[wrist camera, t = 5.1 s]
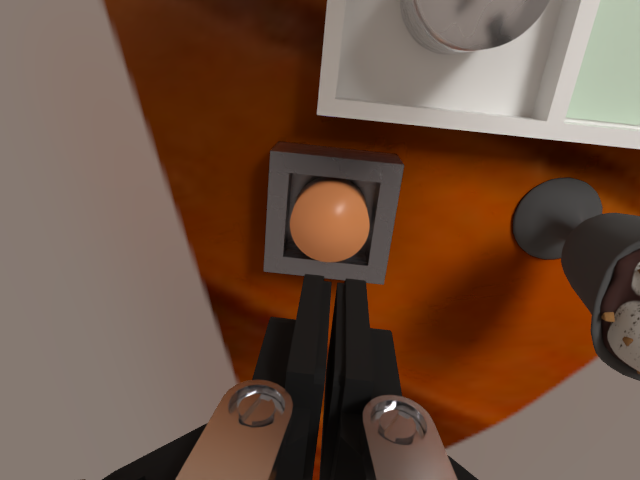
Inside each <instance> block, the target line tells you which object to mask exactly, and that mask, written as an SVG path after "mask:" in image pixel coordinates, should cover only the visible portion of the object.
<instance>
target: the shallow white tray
mask: <svg viewBox="0 0 640 480" xmlns="http://www.w3.org/2000/svg"><path fill="white" fill-rule="evenodd" d="M317 115H323V116H333V117H342V118H352V119H361V120H370V121H380V122H389V123H399V124H408V125H417V126H427V127H436V128H445V129H455V130H464V131H474V132H483V133H492V134H502V135H511V136H521V137H530V138H539V139H549V140H558V141H567V142H577V143H586V144H596V145H605V146H614V147H624V148H633V149H640V0H550V1H549V3H548V5H547V7H546V8H545V10H544V11H543V13H542V14H541V16H540V17H539V18H538V19H537V21H536V22H535V23H534V24H533V25H532V26H531V27H530V28H529V29H528V30H527V31H525V32H524V33H523V34H522V35H520V36H519V37H517V38H516V39H514V40H512V41H510V42H508V43H506V44H504V45H501V46H498V47H494V48H490V49H484V50H478V51H471V52H464V53H458V54H439V53H435V52H432V51H429V50H428V49H426V48H424V47H422V46H421V45H420V44H418V43H417V42H416V41H415V40H414V39H413V37H412V36H411V35H410V34H409V32H408V30H407V28H406V26H405V24H404V22H403V18H402V14H401V8H400V0H327V8H326V19H325V30H324V41H323V52H322V63H321V74H320V84H319V95H318V106H317Z"/></svg>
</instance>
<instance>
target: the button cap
mask: <svg viewBox="0 0 640 480" xmlns="http://www.w3.org/2000/svg"><path fill="white" fill-rule="evenodd" d="M369 227H370V223H369V216H368V211H367V206H366V201H365V198H364V196H363V194H362V193H361V191H360V190H359V189H358V187H357V186H356V185H354V184H353V183H352V182H350V181H349V180H346V179H342V178H333V177H320V178H317V179H315V180H313V181H311V182H310V183H308V184H307V185H306V186H305V187H304V188H303V189H302V190H301V192H300V193H299V195H298V197H297V199H296V202H295V205H294V208H293V211H292V214H291V218H290V231H291V235H292V238H293V240H294V242H295V244H296V245H297V247H298V248H299V249H300V250H301V251H302V252H303V253H304V254H306V255H307V256H309V257H310V258H312V259H315V260H318V261H322V262H338V261H342V260H345V259H348V258H350V257H351V256H353V255H354V254H356V253H357V252H358V251H359V250H360V249H361V248H362V246H363V245H364V243H365V242H366V240H367V237H368V234H369Z"/></svg>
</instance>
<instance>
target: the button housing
mask: <svg viewBox="0 0 640 480" xmlns="http://www.w3.org/2000/svg"><path fill="white" fill-rule="evenodd" d="M403 169H404V164H403V162H402V161H401V160H400V158H399V157H398V155H397V154H392V153H383V152H373V151H364V150H355V149H345V148H336V147H326V146H317V145H308V144H298V143H289V142H280V141H278V142H277V144H276V145H275V146H274V147H273V148H272V149H271V150H270V164H269V182H268V200H267V218H266V236H265V254H264V272H273V273H282V274H291V275H301V276H304V275H305V274H312V275H321V276H324V278H328V279H337V280H346V278H347V279H356V280H365V281H366V283H374V284H383V285H384V280H385V274H386V268H387V262H388V256H389V250H390V245H391V239H392V233H393V227H394V221H395V215H396V210H397V204H398V198H399V192H400V186H401V180H402V175H403ZM320 177H333V178H342V179H346V180H349V181H350V182H352V183H353V184H354V185H356V186H357V187H358V189H359V190H360V191H361V193H362V194H363V196H364V198H365V201H366V206H367V211H368V216H369V223H370V227H369V234H368V237H367V240H366V242H365V243H364V245H363V246H362V248H361V249H360V250H359V251H358V252H357V253H356V254H354V255H353V256H351V257H350V258H348V259H345V260H342V261H338V262H322V261H318V260H315V259H312V258H310V257H309V256H307V255H306V254H304V253H303V252H302V251H301V250H300V249H299V248H298V247H297V245H296V244H295V242H294V240H293V238H292V235H291V231H290V218H291V214H292V211H293V208H294V205H295V202H296V199H297V197H298V195H299V193H300V192H301V190H302V189H303V188H304V187H305V186H306V185H307V184H308V183H310V182H311V181H313V180H315V179H317V178H320Z"/></svg>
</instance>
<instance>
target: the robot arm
mask: <svg viewBox="0 0 640 480" xmlns="http://www.w3.org/2000/svg"><path fill="white" fill-rule="evenodd" d="M330 297H331V282H328V281H324V276H321V275H312V274H305V275H304V281H303V286H302V291H301V297H300V302H299V307H298V313H297V318H296V320H294V319H285V318H276V317H271V318H270V320H269V323H268V327H267V330H266V334H265V337H264V340H263V344H262V347H261V351H260V354H259V358H258V361H257V365H256V368H255V372H254V375H253V379H252V380H249V381H245V382H242V383H239V384H237V385H235V386H234V387H233V388H231V389H229V390H228V391H227V393H226V394H225V395H224V396H223V398H222V400H221V402H220V403H219V405H218V406H217V408H216V410H215V412H214V413H213V415H212V417H211V419H210V420H209V422H208V423H207V424H205V425H203V426H201V427H199V428H197V429H195V430H193V431H191V432H189V433H187V434H186V435H184V436H182V437H180V438H178V439H176V440H174V441H172V442H170V443H168V444H166V445H164V446H162V447H161V448H159V449H157V450H155V451H153V452H151V453H149V454H147V455H145V456H143V457H141V458H139V459H137V460H136V461H134V462H132V463H130V464H128V465H126V466H124V467H122V468H120V469H118V470H117V471H114V472H113V473H111V474H110V475H108V476H107V477H105V478H104V479H102V480H312V476H313V469H314V461H315V453H316V445H317V437H318V430H319V422H320V414H321V406H322V399H323V391H324V382H325V372H326V383H325V399H324V415H323V431H322V447H321V463H320V479H319V480H478V479H477V478H476V477H474V476H473V475H472V474H470V473H469V472H468V471H467V470H466V469H464V468H463V467H462V466H461V465H459V464H458V463H457V462H456V461H454V460H453V459H452V458H451V457H449V456H448V455H447V453H446V451H445V448H444V446H443V444H442V441H441V439H440V437H439V434H438V432H437V429H436V427H435V425H434V422H433V420H432V419H431V417H430V415H429V414H428V412H427V411H426V410H425V409H424V408H422V407H421V406H420V405H419V404H417V403H416V402H414V401H412V400H410V399H408V398H405V397H402V392H401V386H400V380H399V374H398V368H397V362H396V356H395V350H394V343H393V337H392V333H391V331H390V330H382V329H373V328H370V324H369V313H368V301H367V289H366V281H365V280H356V279H347V278H346V280H345V283H337V290H336V298H335V306H334V313H333V321H332V329H331V337H330V345H329V352H328V360H327V369H326V359H327V343H328V328H329V313H330ZM82 480H85V479H82Z"/></svg>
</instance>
